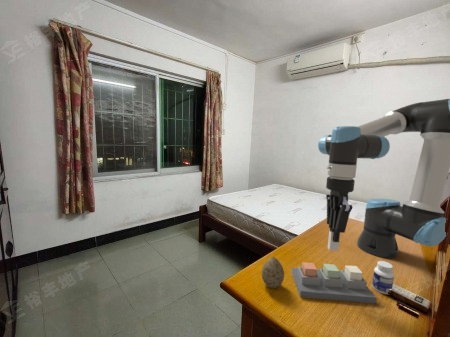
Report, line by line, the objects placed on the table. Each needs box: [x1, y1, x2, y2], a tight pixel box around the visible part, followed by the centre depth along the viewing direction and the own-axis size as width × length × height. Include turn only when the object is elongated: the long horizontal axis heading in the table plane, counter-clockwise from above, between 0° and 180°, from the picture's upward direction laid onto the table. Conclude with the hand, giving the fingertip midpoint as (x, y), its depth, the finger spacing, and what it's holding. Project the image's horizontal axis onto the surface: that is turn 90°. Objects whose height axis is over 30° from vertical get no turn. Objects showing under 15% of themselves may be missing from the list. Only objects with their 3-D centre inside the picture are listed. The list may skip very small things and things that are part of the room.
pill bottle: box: [371, 260, 395, 295], centre depth 69 cm, size 5×5×9 cm
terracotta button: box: [301, 261, 318, 277], centre depth 70 cm, size 4×4×3 cm
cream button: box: [344, 265, 363, 281], centre depth 68 cm, size 4×4×3 cm
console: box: [290, 266, 377, 304], centre depth 70 cm, size 22×12×4 cm, turn 85°
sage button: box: [322, 263, 340, 279], centre depth 69 cm, size 4×4×3 cm
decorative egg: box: [261, 256, 285, 289], centre depth 69 cm, size 7×7×10 cm
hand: (332, 249), depth 68 cm, fingers closed
